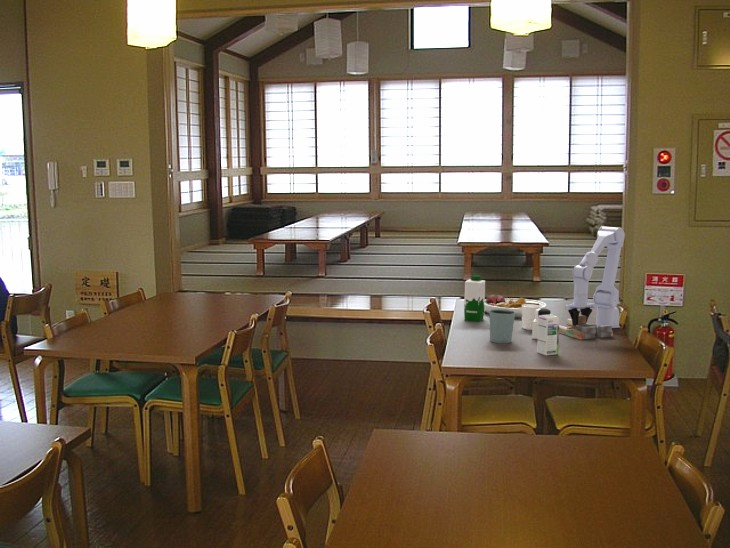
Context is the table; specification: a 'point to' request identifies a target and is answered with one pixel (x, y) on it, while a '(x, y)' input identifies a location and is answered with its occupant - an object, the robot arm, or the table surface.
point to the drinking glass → (501, 325)
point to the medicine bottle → (535, 323)
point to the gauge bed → (586, 331)
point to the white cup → (528, 315)
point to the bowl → (509, 304)
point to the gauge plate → (579, 327)
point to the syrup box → (548, 334)
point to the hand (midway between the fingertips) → (579, 325)
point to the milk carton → (474, 299)
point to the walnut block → (581, 320)
